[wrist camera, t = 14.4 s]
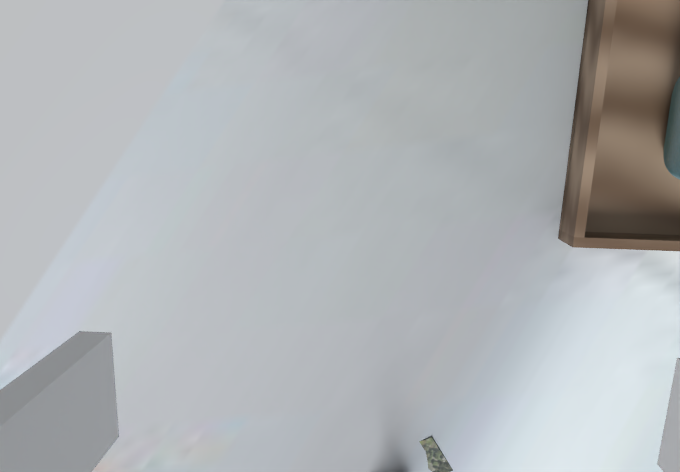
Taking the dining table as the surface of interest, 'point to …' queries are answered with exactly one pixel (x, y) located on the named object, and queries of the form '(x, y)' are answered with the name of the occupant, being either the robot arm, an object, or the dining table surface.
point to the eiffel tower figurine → (435, 457)
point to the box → (624, 130)
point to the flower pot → (673, 134)
